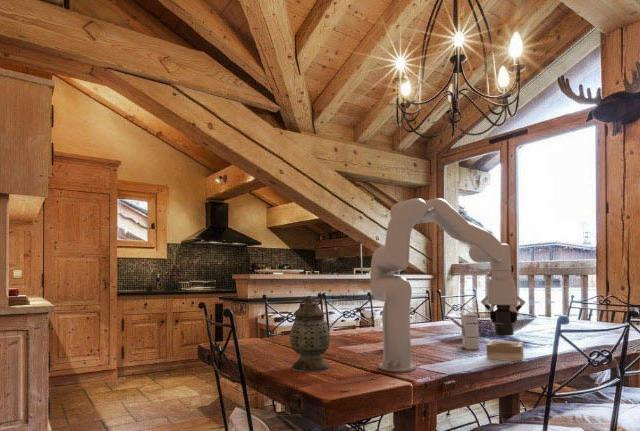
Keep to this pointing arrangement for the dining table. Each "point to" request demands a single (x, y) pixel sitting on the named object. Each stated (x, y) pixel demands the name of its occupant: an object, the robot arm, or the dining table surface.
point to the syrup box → (470, 330)
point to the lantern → (309, 337)
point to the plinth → (505, 350)
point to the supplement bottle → (503, 320)
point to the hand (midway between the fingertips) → (503, 321)
